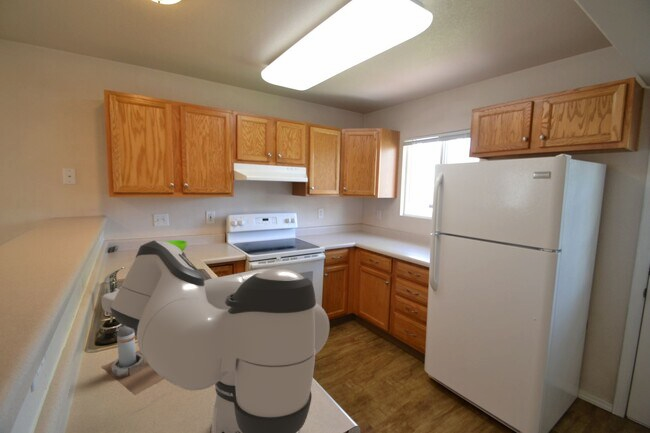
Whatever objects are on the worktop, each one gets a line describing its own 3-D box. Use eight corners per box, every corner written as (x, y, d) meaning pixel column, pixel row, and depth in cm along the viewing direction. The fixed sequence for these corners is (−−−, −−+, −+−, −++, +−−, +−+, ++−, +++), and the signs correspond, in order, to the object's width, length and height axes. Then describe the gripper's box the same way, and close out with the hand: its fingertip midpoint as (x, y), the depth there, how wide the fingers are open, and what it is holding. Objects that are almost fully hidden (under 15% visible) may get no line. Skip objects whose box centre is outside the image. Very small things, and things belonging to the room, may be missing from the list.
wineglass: (164, 266, 206) (163, 240, 204) (189, 264, 211) (188, 239, 209) (158, 273, 191) (157, 245, 189) (185, 271, 196) (184, 244, 194)
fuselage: (139, 367, 95) (136, 325, 93) (123, 375, 91) (120, 331, 89) (132, 362, 97) (129, 321, 95) (116, 369, 93) (113, 327, 92)
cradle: (148, 366, 95) (148, 359, 95) (120, 380, 88) (119, 372, 88) (136, 357, 100) (135, 350, 99) (108, 370, 93) (107, 363, 93)
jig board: (191, 366, 97) (191, 364, 97) (135, 398, 83) (135, 394, 83) (155, 345, 109) (155, 342, 109) (101, 369, 95) (101, 366, 95)
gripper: (114, 326, 67) (92, 309, 75) (198, 297, 84) (173, 286, 92) (112, 299, 66) (90, 285, 74) (197, 276, 83) (172, 266, 91)
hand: (136, 285), depth 83 cm, fingers open, 8 cm apart
